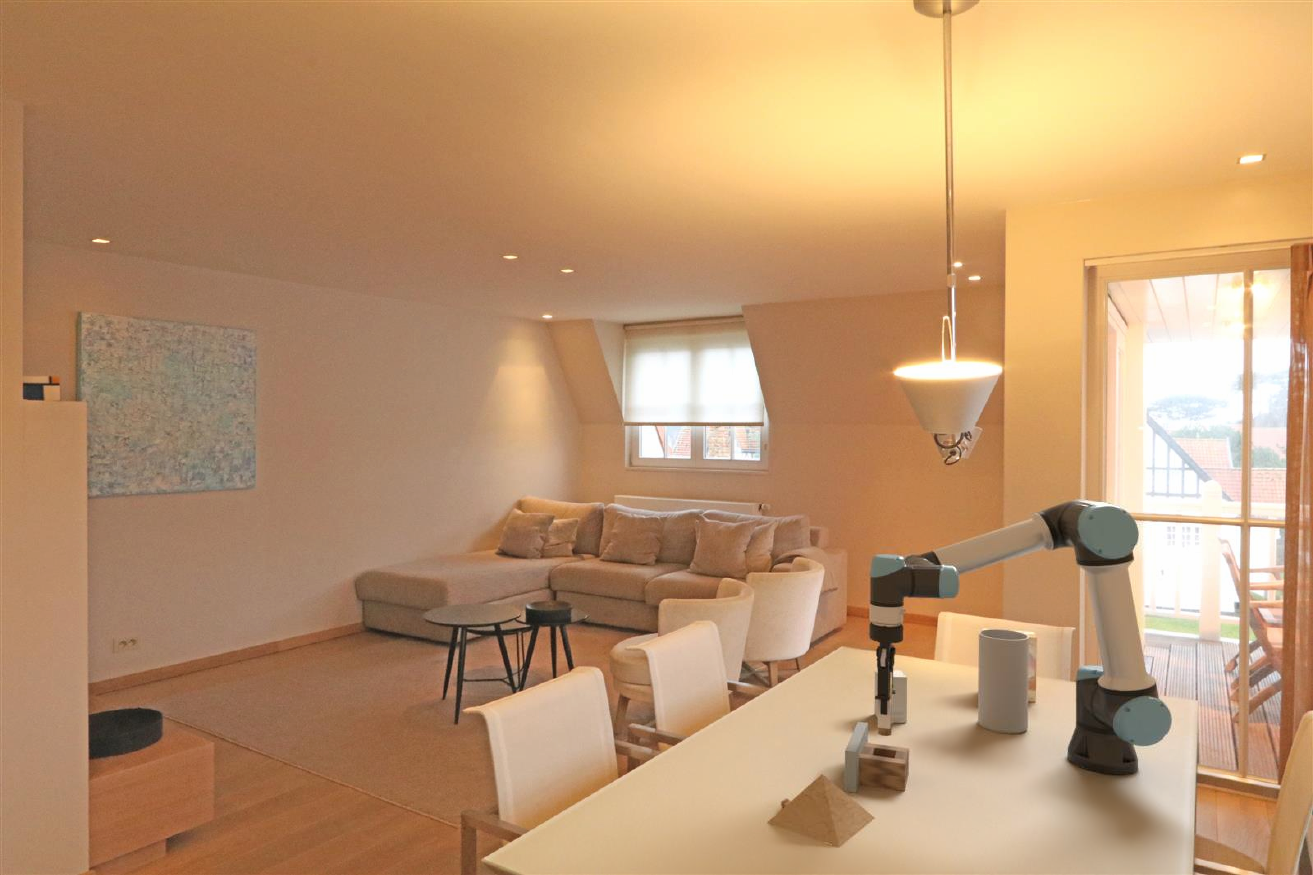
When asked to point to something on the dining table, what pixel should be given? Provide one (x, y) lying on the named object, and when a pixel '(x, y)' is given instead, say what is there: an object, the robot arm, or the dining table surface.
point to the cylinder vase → (1003, 680)
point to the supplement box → (896, 697)
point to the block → (884, 766)
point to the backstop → (854, 756)
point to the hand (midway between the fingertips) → (884, 724)
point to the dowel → (888, 731)
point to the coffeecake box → (1031, 665)
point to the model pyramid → (823, 813)
